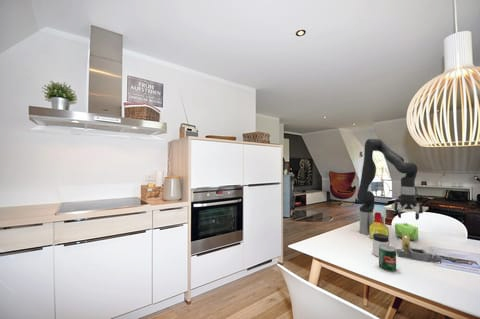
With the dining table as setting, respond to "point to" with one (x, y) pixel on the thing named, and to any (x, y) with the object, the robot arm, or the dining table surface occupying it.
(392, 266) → the canned tomato
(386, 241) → the jar
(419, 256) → the bolt keeper plate
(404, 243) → the pin
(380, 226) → the bottle
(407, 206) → the robot arm
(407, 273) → the dining table surface
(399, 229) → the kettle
